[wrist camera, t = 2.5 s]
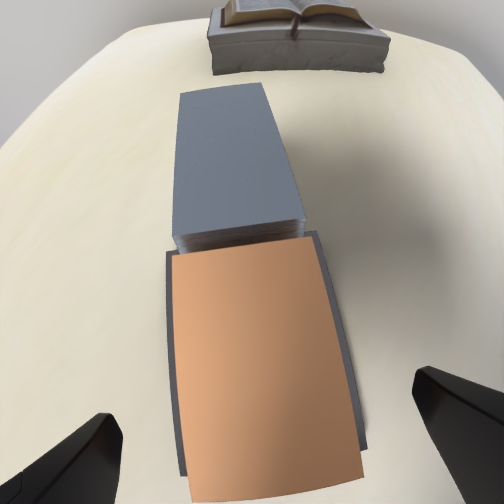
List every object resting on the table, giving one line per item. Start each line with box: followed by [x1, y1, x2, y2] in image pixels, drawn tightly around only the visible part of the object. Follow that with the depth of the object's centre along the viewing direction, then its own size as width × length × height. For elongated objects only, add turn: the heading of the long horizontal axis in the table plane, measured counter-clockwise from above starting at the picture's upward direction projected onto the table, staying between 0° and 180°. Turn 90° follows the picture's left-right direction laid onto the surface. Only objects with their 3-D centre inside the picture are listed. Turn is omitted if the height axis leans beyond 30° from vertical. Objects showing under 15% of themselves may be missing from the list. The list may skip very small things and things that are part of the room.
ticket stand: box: [166, 82, 368, 476], centre depth 12 cm, size 14×10×12 cm
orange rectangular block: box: [172, 236, 364, 502], centre depth 8 cm, size 5×3×7 cm, turn 8°
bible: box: [207, 0, 391, 76], centre depth 36 cm, size 23×27×10 cm
